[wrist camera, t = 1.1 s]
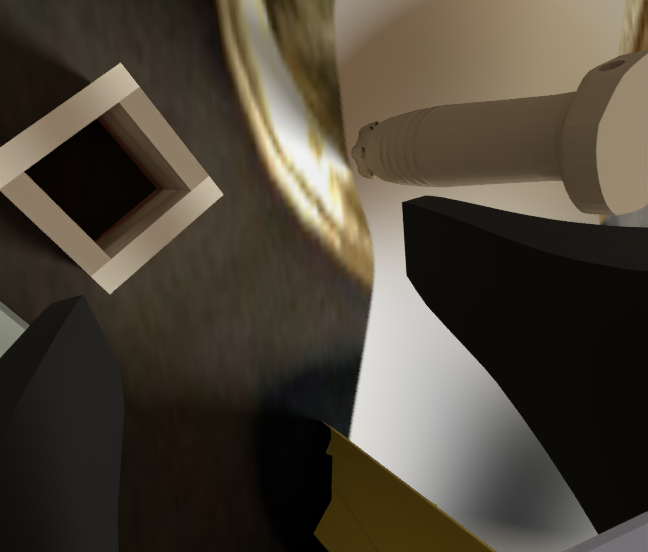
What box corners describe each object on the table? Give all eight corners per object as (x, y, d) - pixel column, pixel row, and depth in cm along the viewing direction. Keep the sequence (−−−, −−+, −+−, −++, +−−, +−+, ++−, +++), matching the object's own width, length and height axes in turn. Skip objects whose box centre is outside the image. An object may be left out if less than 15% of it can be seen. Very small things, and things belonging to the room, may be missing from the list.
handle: (313, 140, 26) (584, 107, 14) (392, 88, 29) (684, 20, 16) (348, 216, 28) (611, 244, 16) (419, 161, 31) (696, 150, 18)
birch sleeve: (89, 272, 21) (109, 294, 17) (-20, 168, 19) (-27, 165, 15) (184, 191, 23) (223, 194, 19) (97, 86, 20) (120, 63, 16)
